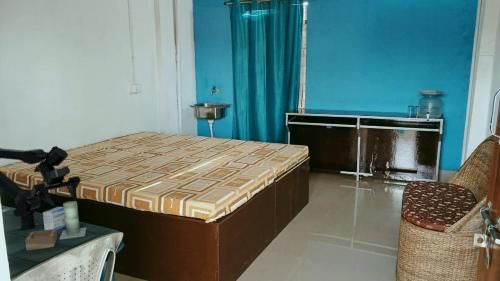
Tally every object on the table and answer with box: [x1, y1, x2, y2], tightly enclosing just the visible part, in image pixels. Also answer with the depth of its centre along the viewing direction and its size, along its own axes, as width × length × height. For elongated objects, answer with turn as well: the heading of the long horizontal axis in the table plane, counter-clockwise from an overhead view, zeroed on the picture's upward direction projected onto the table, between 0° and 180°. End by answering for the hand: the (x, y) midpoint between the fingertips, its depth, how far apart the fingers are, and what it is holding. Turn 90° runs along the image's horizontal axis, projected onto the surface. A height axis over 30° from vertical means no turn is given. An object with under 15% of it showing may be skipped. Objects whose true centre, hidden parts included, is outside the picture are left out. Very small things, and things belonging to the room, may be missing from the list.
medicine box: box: [42, 206, 66, 232], centre depth 156 cm, size 8×4×9 cm, turn 168°
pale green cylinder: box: [62, 200, 81, 235], centre depth 149 cm, size 5×5×12 cm
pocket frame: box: [24, 229, 58, 251], centre depth 139 cm, size 9×9×4 cm
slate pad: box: [59, 227, 87, 240], centre depth 149 cm, size 9×9×1 cm
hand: (65, 202), depth 149 cm, fingers open, 9 cm apart
